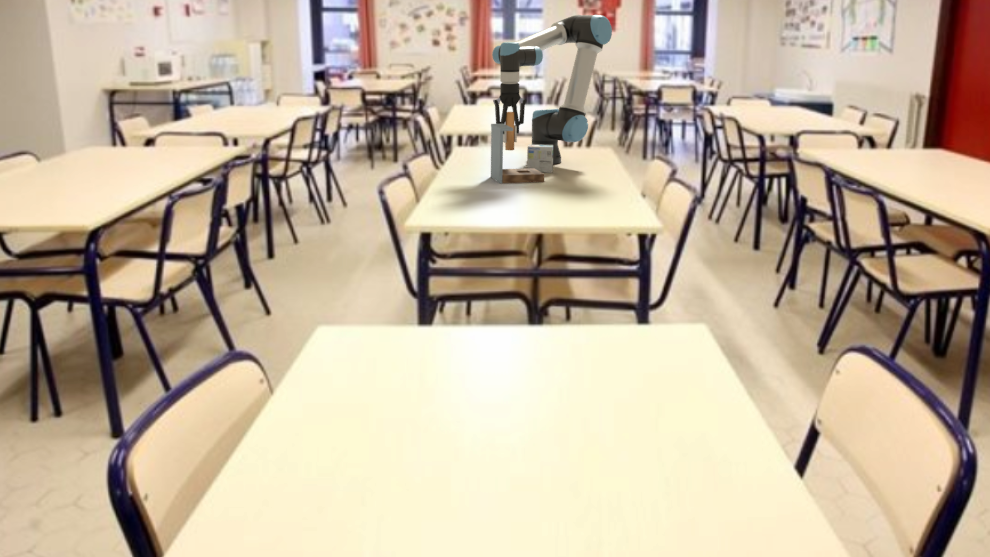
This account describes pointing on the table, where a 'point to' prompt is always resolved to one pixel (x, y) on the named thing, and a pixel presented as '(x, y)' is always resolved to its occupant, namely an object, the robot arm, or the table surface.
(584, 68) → the robot arm
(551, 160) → the light bulb box
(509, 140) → the peg
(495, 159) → the grey l-shaped bracket
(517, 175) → the socket board
